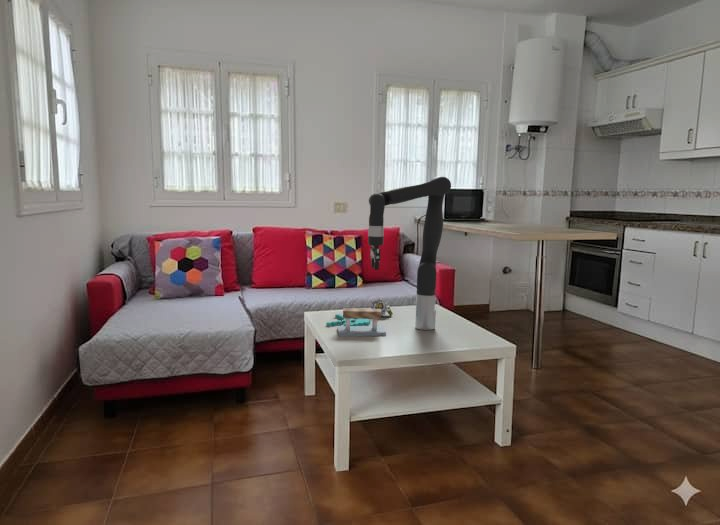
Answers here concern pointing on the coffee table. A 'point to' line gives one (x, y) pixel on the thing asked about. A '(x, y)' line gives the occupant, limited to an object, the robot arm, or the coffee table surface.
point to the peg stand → (361, 329)
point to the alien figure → (352, 321)
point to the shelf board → (361, 313)
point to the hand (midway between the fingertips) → (375, 268)
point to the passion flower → (381, 307)
